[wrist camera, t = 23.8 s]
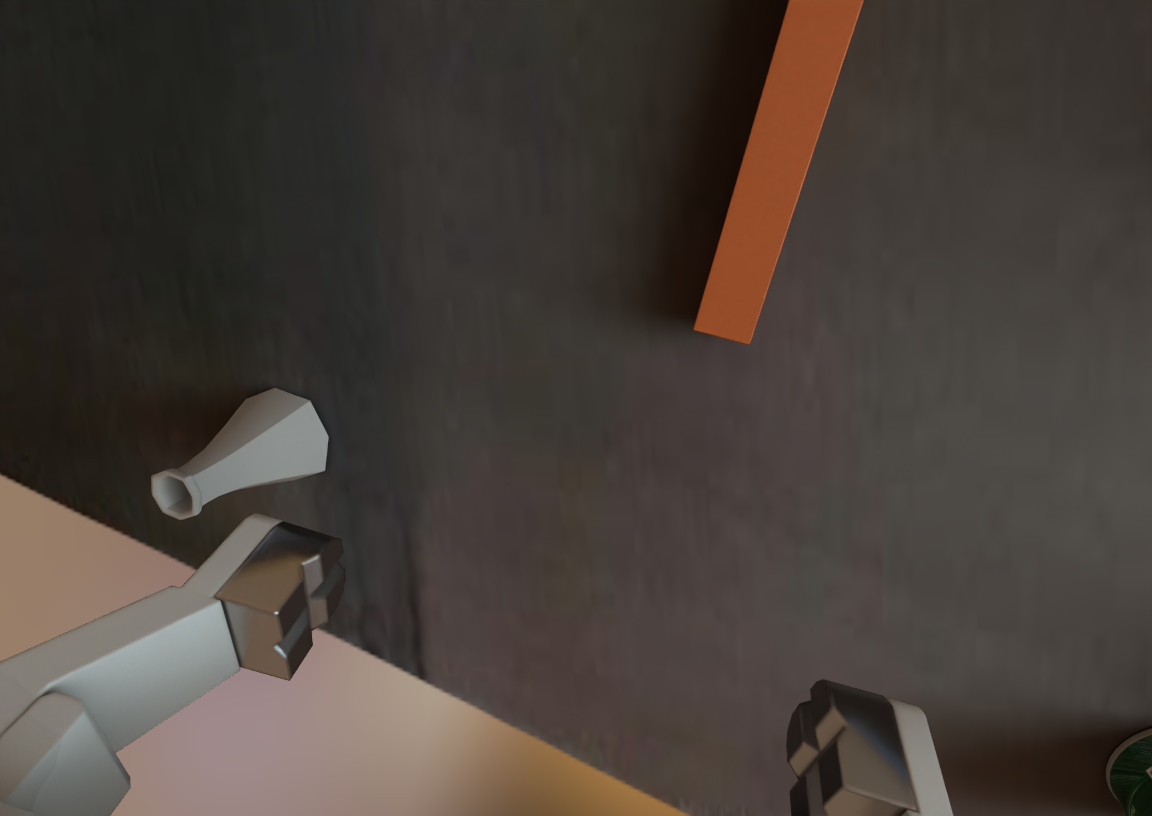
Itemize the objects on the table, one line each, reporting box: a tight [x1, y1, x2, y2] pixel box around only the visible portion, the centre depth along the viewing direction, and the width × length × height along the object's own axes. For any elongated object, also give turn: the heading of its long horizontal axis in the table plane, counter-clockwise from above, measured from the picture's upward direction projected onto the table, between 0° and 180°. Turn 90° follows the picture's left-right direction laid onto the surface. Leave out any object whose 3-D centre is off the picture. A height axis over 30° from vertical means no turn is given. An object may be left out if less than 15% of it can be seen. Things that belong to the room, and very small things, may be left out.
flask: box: [151, 388, 329, 520], centre depth 40 cm, size 7×7×10 cm
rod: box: [693, 0, 864, 345], centre depth 29 cm, size 22×3×3 cm, turn 168°
